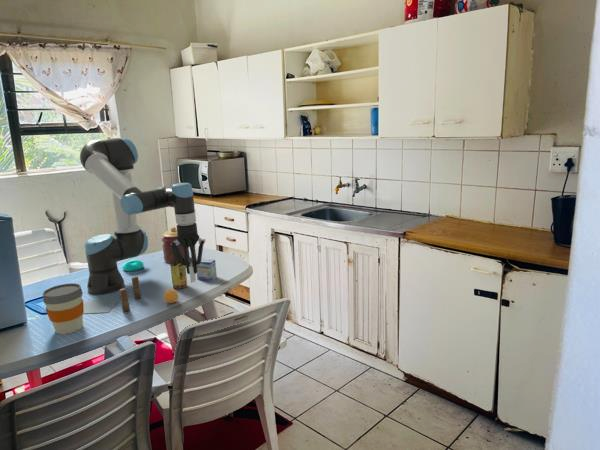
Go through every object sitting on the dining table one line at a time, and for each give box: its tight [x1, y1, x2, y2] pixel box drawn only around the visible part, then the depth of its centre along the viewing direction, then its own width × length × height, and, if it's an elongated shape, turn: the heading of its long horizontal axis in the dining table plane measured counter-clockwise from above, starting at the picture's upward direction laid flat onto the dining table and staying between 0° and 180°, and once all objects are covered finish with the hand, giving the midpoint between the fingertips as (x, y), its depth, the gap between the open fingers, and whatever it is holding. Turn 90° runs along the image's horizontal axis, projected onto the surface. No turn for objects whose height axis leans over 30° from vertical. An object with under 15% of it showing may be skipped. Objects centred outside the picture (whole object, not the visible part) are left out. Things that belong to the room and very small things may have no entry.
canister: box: [161, 226, 185, 264], centre depth 232 cm, size 13×13×18 cm
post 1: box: [119, 287, 131, 314], centre depth 173 cm, size 3×3×9 cm
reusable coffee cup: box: [42, 283, 84, 335], centre depth 160 cm, size 13×12×15 cm
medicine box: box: [196, 258, 218, 281], centre depth 204 cm, size 8×4×9 cm, turn 76°
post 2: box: [131, 276, 142, 300], centre depth 185 cm, size 3×3×9 cm
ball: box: [163, 288, 179, 304], centre depth 179 cm, size 6×6×6 cm
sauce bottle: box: [169, 243, 188, 290], centre depth 194 cm, size 7×6×20 cm
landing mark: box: [83, 297, 121, 315], centre depth 180 cm, size 14×14×1 cm
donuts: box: [122, 255, 144, 272], centre depth 223 cm, size 10×10×10 cm
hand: (193, 281), depth 177 cm, fingers closed
